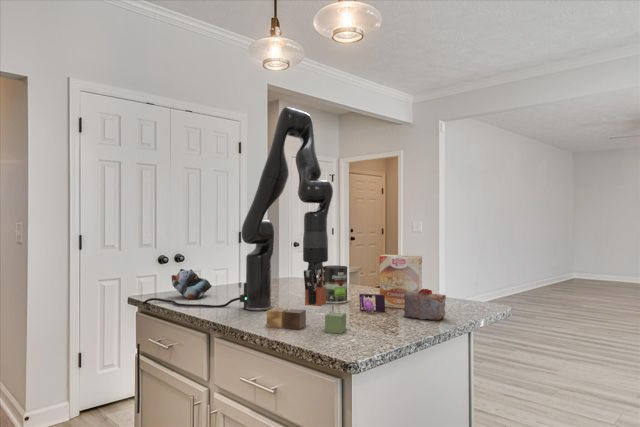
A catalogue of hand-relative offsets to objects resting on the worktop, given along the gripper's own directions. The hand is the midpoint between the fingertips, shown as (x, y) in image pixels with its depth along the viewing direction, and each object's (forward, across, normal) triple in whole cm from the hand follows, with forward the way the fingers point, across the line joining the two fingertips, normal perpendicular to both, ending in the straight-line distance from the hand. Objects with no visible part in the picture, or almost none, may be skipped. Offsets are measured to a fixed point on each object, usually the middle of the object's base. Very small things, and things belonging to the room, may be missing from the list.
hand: (315, 302), depth 135 cm
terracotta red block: (+1, 0, 0) cm, 1 cm away
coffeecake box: (+8, -44, +18) cm, 48 cm away
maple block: (+8, 0, -13) cm, 15 cm away
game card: (+8, -30, +10) cm, 33 cm away
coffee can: (+8, -46, -8) cm, 48 cm away
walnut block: (+8, 0, -7) cm, 10 cm away
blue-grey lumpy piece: (+8, -34, -68) cm, 77 cm away
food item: (+8, -27, +29) cm, 41 cm away
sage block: (+8, 0, +6) cm, 10 cm away
